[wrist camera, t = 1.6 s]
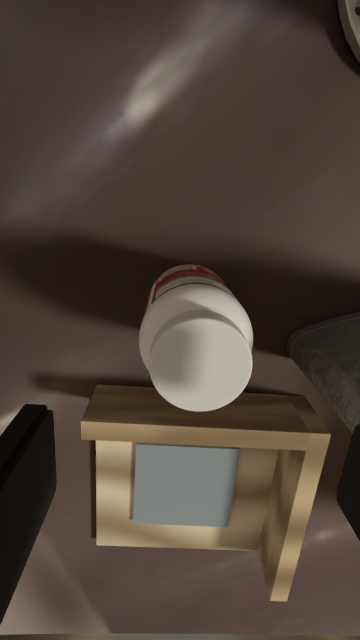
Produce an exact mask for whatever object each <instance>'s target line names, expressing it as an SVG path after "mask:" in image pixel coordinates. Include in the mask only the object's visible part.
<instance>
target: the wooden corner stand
mask: <svg viewBox="0 0 360 640" xmlns="http://www.w3.org/2000/svg"><path fill="white" fill-rule="evenodd" d="M330 437H331V433H330V432H329V430H328V429H327V427H326V426H325V425H324V423H323V422H322V420H321V419H320V418H319V416H318V415H317V413H316V412H315V410H314V409H313V408H312V406H311V405H310V403H309V402H308V401H307V399H306V398H305V396H294V395H277V394H259V393H241V394H240V395H239V396H238V397H237V398H235V399H234V400H233V401H232V402H230V403H229V404H227V405H225V406H223V407H220V408H218V409H215V410H210V411H189V410H185V409H182V408H179V407H177V406H175V405H173V404H171V403H169V402H168V401H167V400H165V399H164V398H163V397H162V396H161V395H160V394H159V392H158V391H157V390H156V388H153V387H135V386H118V385H100V384H97V386H96V388H95V390H94V393H93V395H92V397H91V399H90V402H89V404H88V406H87V409H86V411H85V413H84V415H83V418H82V420H81V440H96V525H97V545H107V546H135V547H162V548H190V549H218V550H246V551H258V554H259V558H260V562H261V566H262V570H263V574H264V578H265V582H266V586H267V591H268V595H269V599H270V601H287V599H288V595H289V592H290V588H291V584H292V580H293V577H294V573H295V569H296V565H297V562H298V558H299V554H300V550H301V546H302V543H303V539H304V535H305V531H306V528H307V524H308V520H309V516H310V513H311V509H312V505H313V501H314V498H315V494H316V490H317V486H318V482H319V479H320V475H321V471H322V467H323V464H324V460H325V456H326V452H327V449H328V445H329V441H330ZM137 442H142V443H162V444H182V445H202V446H223V447H240V449H241V450H240V456H239V463H238V469H237V475H236V481H235V487H234V493H233V499H232V505H231V512H230V518H229V524H228V527H210V526H184V525H159V524H133V512H134V487H135V462H136V443H137Z"/></svg>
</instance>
